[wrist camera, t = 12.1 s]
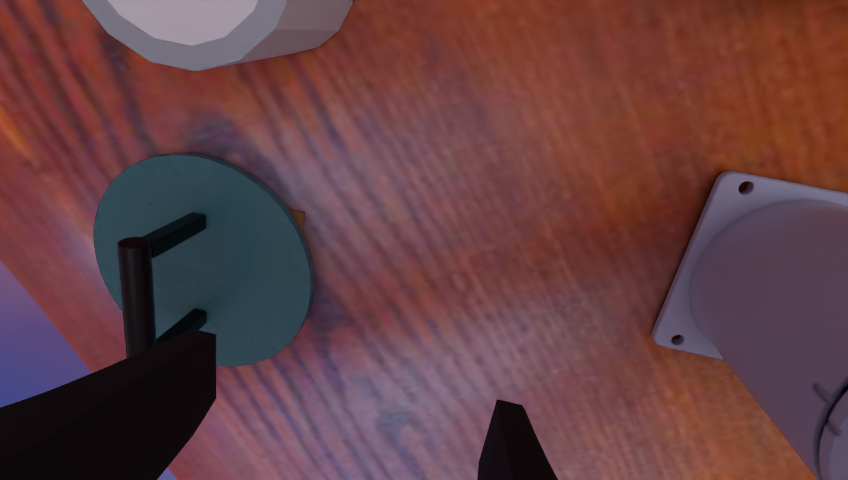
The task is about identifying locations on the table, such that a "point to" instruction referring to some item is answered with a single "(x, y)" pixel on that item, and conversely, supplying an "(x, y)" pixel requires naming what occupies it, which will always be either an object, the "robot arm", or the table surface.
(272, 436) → the table surface
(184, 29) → the pale grey cylinder
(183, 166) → the tin lid
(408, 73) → the table surface
